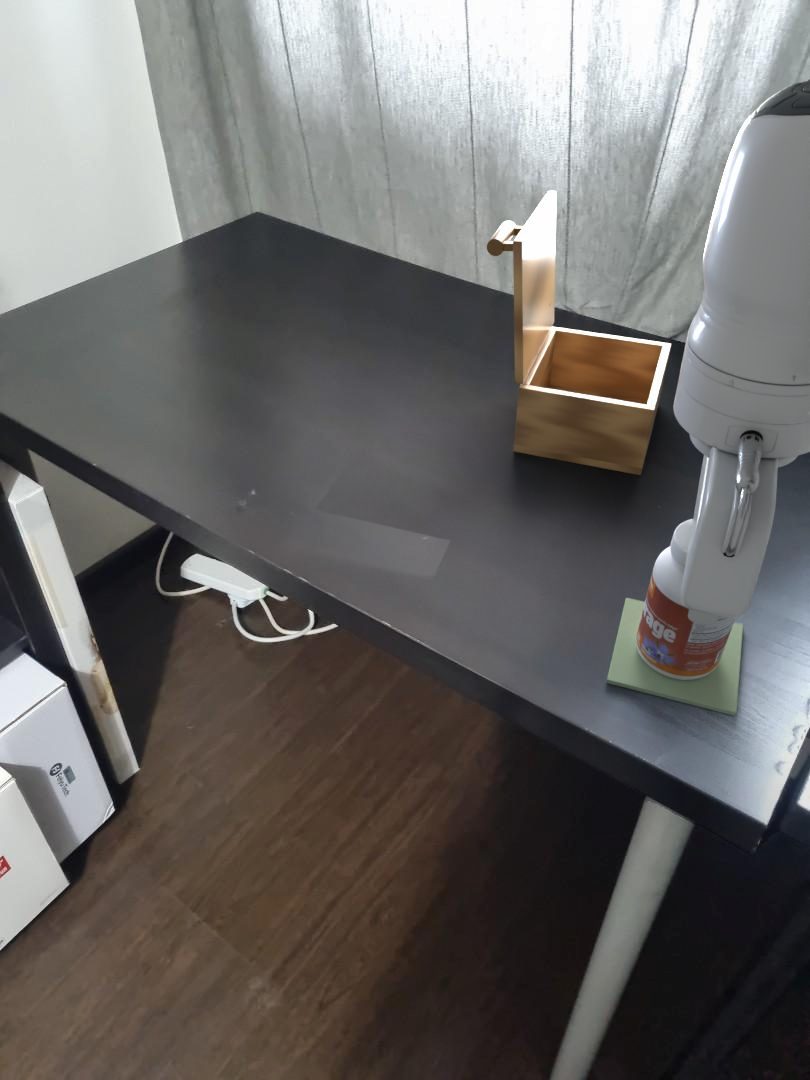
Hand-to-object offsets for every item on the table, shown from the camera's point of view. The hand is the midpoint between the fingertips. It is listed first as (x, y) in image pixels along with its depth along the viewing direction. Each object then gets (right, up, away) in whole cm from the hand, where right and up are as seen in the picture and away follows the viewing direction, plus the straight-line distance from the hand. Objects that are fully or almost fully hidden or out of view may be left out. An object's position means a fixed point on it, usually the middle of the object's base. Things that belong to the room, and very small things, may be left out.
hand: (708, 569), depth 56 cm
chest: (-2, +14, +30) cm, 33 cm away
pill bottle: (0, -7, +6) cm, 9 cm away
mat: (0, -7, +6) cm, 9 cm away
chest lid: (-8, +26, +22) cm, 35 cm away
